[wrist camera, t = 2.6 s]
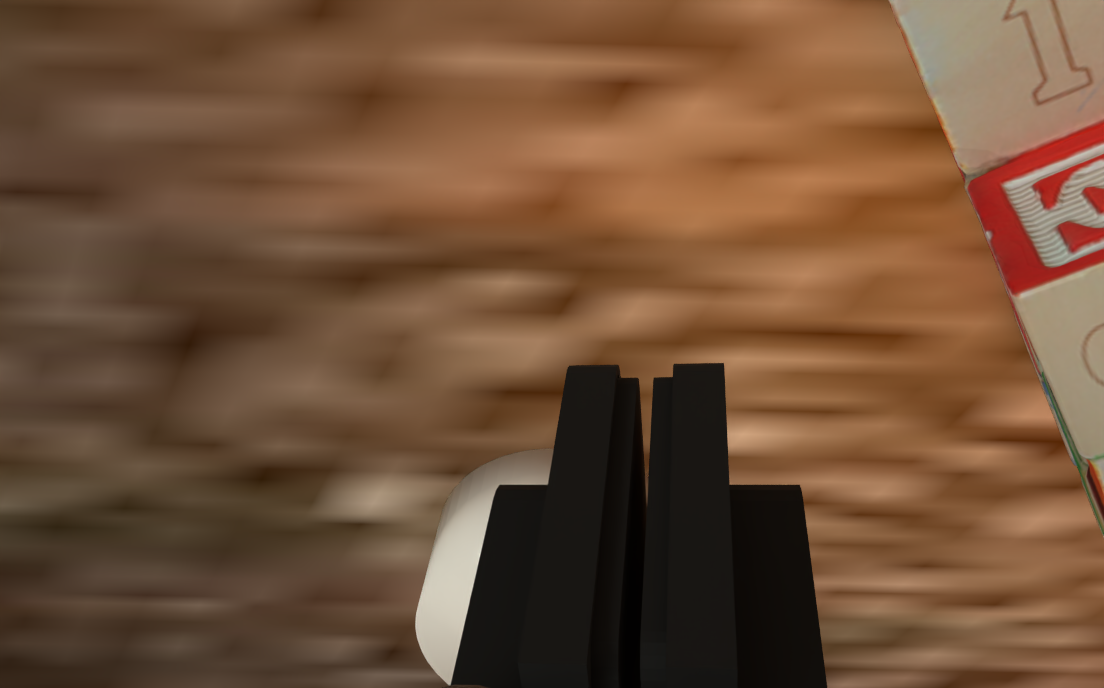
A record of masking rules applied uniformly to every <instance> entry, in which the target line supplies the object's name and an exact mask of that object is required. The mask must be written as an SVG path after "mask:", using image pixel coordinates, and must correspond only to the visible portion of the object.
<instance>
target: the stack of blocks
mask: <svg viewBox="0 0 1104 688" xmlns="http://www.w3.org/2000/svg"><path fill="white" fill-rule="evenodd" d="M888 1H889V3H890V6H891V9H892V11H893V14H894V16H895V19H896V22H897V24H898V26H899V28H900V30H901V32H902V35H903V38H904V40H905V43H906V46H907V48H908V51H909V53H910V55H911V58H912V60H913V62H914V64H915V67H916V69H917V71H918V74H919V76H920V78H921V81H922V83H923V85H924V87H925V90H926V92H927V94H928V97H929V99H930V101H931V103H932V106H933V108H934V110H935V113H936V115H937V118H938V120H939V123H940V125H941V127H942V130H943V132H944V134H945V137H946V139H947V141H948V144H949V146H950V149H951V151H952V154H953V156H954V159H955V161H956V163H957V166H958V168H959V170H960V173H961V175H962V177H963V180H964V182H965V186H964V188H965V190H966V192H967V194H968V196H969V198H970V201H971V203H972V205H973V207H974V210H975V212H976V214H977V217H978V219H979V221H980V224H981V226H982V229H983V232H984V235H985V237H986V240H987V242H988V245H989V247H990V250H991V252H992V255H993V257H994V260H995V263H996V265H997V268H998V271H999V273H1000V276H1001V279H1002V281H1003V284H1004V286H1005V289H1006V292H1007V294H1008V297H1009V299H1010V302H1011V304H1012V307H1013V310H1014V316H1015V319H1016V321H1017V324H1018V327H1019V329H1020V332H1021V334H1022V337H1023V339H1024V342H1025V345H1026V347H1027V350H1028V352H1029V355H1030V357H1031V360H1032V363H1033V365H1034V368H1035V370H1036V373H1037V376H1038V378H1039V381H1040V383H1041V386H1042V389H1043V391H1044V394H1045V396H1046V399H1047V401H1048V404H1049V406H1050V409H1051V411H1052V414H1053V416H1054V419H1055V421H1056V424H1057V426H1058V429H1059V431H1060V434H1061V436H1062V439H1063V441H1064V444H1065V446H1066V449H1067V451H1068V454H1069V456H1070V458H1071V461H1072V462H1073V464H1074V465H1076V466H1077V468H1078V470H1079V473H1080V475H1081V481H1082V484H1083V487H1084V489H1085V492H1086V495H1087V497H1088V500H1089V502H1090V505H1091V507H1092V510H1093V513H1094V515H1095V518H1096V520H1097V523H1098V525H1099V528H1100V530H1101V533H1102V535H1103V538H1104V0H888Z"/></svg>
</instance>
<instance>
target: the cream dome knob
mask: <svg viewBox="0 0 1104 688" xmlns="http://www.w3.org/2000/svg"><path fill="white" fill-rule="evenodd" d="M553 450H554V449H552V448H550V449H534V450H528V451H522V452H516V453H513V454H509V455H506V456H502V457H500V458H497V459H495V460H492V461H490V462H488V463H486V464H484V465H482V466H480V467H479V468H477V469H475V470H474V471H472V472H471V473H470V474H469V475H467V476H466V477H465V478H463V480H462V481H461V482H460V483H459V484H458V485H457V486H456V487H455V488H454V489H453V491H452V492H451V494H450V495H449V497H448V498H447V501H446V503H445V505H444V507H443V510H442V514H441V518H440V522H439V526H438V530H437V534H436V538H435V542H434V546H433V549H432V553H431V557H430V561H429V565H428V569H427V573H426V577H425V581H424V585H423V589H422V593H421V597H420V601H419V605H418V609H417V613H416V627H415V628H416V634H417V639H418V642H419V645H420V648H421V651H422V652H423V654H424V656H425V658H426V660H427V661H428V663H429V664H430V665H431V667H432V668H433V669H434V671H435V672H436V673H437V674H438V675H439V676H440V677H441V678H442V679H443V680H444V681H445V682H446V683H447V684H449V685H451V680H452V676H453V672H454V667H455V663H456V658H457V654H458V650H459V645H460V641H461V637H462V632H463V628H464V624H465V619H466V615H467V611H468V606H469V602H470V597H471V593H472V589H473V584H474V580H475V576H476V571H477V567H478V563H479V558H480V554H481V550H482V545H483V541H484V536H485V532H486V528H487V523H488V519H489V515H490V510H491V506H492V502H493V498H494V495H495V492H496V489H497V488H498V486H499V485H548V480H549V474H550V468H551V462H552V456H553ZM645 484H646V500H647V498H648V477H647V476H645Z"/></svg>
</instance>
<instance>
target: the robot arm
mask: <svg viewBox="0 0 1104 688" xmlns="http://www.w3.org/2000/svg"><path fill="white" fill-rule="evenodd" d="M443 688H827V682H826V675H825V667H824V659H823V651H822V643H821V636H820V628H819V620H818V612H817V604H816V597H815V589H814V581H813V573H812V566H811V558H810V550H809V542H808V534H807V527H806V519H805V511H804V503H803V497H802V491H801V487H800V485H729V465H728V443H727V420H726V397H725V375H724V363H703V364H674V365H673V377H659V378H654V381H653V400H652V419H651V439H650V459H649V478H648V498H647V500H646V484H645V468H644V452H643V436H642V420H641V404H640V388H639V379H638V378H621V376H620V369H619V366H618V365H576V366H569V367H568V369H567V374H566V380H565V385H564V391H563V397H562V403H561V409H560V415H559V421H558V427H557V433H556V439H555V445H554V450H553V456H552V462H551V468H550V474H549V480H548V485H499V486H498V488H497V489H496V492H495V495H494V498H493V502H492V506H491V510H490V515H489V519H488V523H487V528H486V532H485V536H484V541H483V545H482V550H481V554H480V558H479V563H478V567H477V571H476V576H475V580H474V584H473V589H472V593H471V597H470V602H469V606H468V611H467V615H466V619H465V624H464V628H463V632H462V637H461V641H460V645H459V650H458V654H457V658H456V663H455V667H454V672H453V676H452V680H451V685H450V686H447V687H443Z"/></svg>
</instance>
